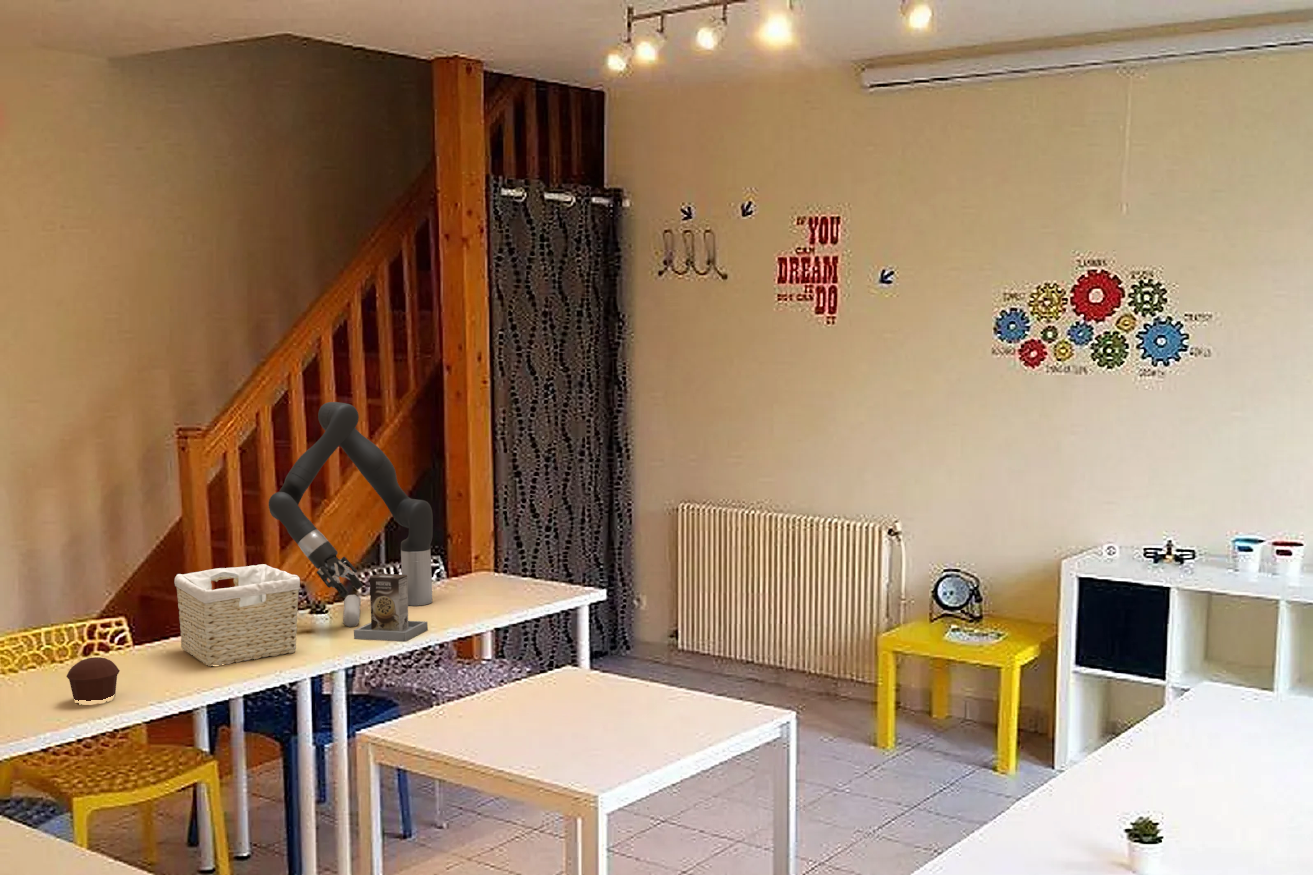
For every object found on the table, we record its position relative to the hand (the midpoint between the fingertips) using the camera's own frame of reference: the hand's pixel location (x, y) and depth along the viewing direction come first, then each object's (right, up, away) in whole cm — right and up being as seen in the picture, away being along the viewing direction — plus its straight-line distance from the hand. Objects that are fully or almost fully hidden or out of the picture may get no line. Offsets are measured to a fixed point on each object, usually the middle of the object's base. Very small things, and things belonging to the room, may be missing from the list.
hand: (353, 591), depth 379 cm
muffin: (-47, -19, -66) cm, 83 cm away
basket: (-26, -15, -21) cm, 36 cm away
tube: (-5, -11, +19) cm, 22 cm away
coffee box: (+11, -11, -4) cm, 16 cm away
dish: (+12, -12, -4) cm, 17 cm away
